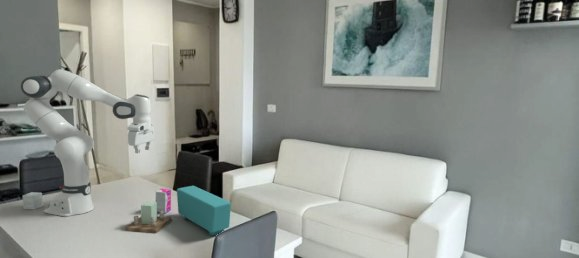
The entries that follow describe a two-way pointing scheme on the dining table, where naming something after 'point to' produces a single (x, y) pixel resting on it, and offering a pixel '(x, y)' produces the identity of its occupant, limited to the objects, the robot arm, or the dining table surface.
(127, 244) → the dining table surface
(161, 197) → the supplement box
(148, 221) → the sage block
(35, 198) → the skincare box
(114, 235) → the dining table surface
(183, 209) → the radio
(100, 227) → the dining table surface
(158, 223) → the peg board
